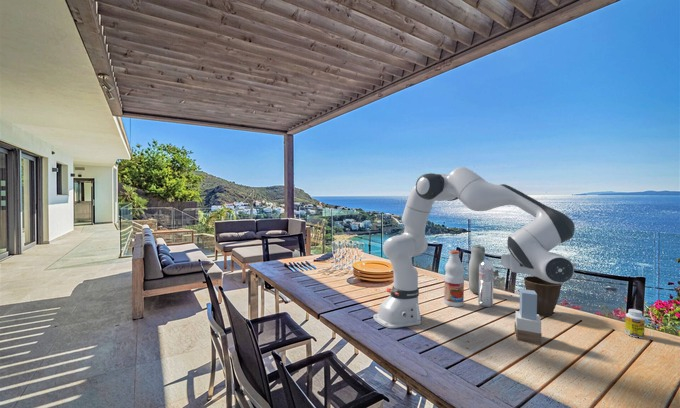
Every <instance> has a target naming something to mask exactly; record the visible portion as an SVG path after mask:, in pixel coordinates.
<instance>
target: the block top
mask: <svg viewBox="0 0 680 408" xmlns="http://www.w3.org/2000/svg"><path fill="white" fill-rule="evenodd" d="M519 311H520V310H515V321H514V323H515V322H516V328H517V329H518V330H523V331H529V332H534V333H540V334H541V333H542V320H541V317H540V315H539V314H537V319H536V320H533V319H526V318H521V315H520V313H519Z"/></svg>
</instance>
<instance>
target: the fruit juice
mask: <svg viewBox="0 0 680 408" xmlns="http://www.w3.org/2000/svg"><path fill="white" fill-rule="evenodd" d="M448 253H449V257H448V259H447V262H446V263H445V266H444V271H445V275H444V291H443V293H444V294H443V295H444V298H443V299H444V304H445V305H447V306H450V307H453V308H459V307H462V306H464V303H465V302H464V300H465V299H464V298H465V296H464V293H465V292H464V291H465V290H464V289H465V288H464V286H465V285H464V284H465V283H464V282H465V278H464V269H465V268H464V264H462V262H461V259H460V251H459V250H456V249H450V250H449V251H448Z"/></svg>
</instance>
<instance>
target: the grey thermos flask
mask: <svg viewBox="0 0 680 408" xmlns="http://www.w3.org/2000/svg"><path fill="white" fill-rule="evenodd" d="M485 248H486V247H485V246H484V245H478V244H474V245H473V246H471V248H470V249H471V250H470V252H471V253H470V254H471V255H470V259H469V263H468V288H469V290H470V291H471V292H472V293H473V294H476V295H479V264H480V263H481V262H482V261H484V260H485V259H484V257H486V249H485Z"/></svg>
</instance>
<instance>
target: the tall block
mask: <svg viewBox="0 0 680 408" xmlns="http://www.w3.org/2000/svg"><path fill="white" fill-rule="evenodd" d="M518 311H519V313H520V315H521V318H526V319H533V320H536V319H537V294H536V292H535V291H533V290H526V289H525V288H524V289H523V288H522V289H521V288H520V289H519V310H518Z"/></svg>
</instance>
